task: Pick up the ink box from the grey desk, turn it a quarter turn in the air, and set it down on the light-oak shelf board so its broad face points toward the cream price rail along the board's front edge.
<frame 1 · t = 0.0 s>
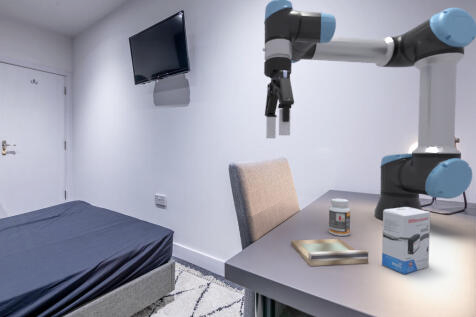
hand: (277, 137, 69), 28 cm above the table, fingers open, 13 cm apart
ink box: (405, 266, 52), on the table
pill bottle: (339, 234, 72), on the table
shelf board: (326, 252, 58), on the table
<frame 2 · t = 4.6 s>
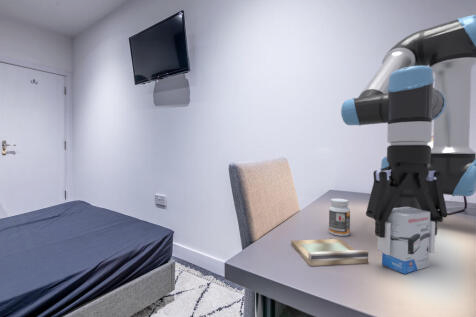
hand: (405, 251, 51), 3 cm above the table, fingers closed on ink box, 9 cm apart
ink box: (405, 266, 52), on the table, touching gripper
everything else where it was.
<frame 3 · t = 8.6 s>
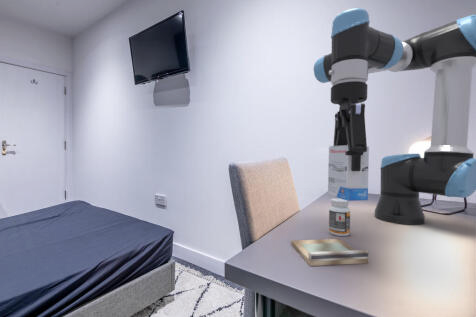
hand: (346, 183, 56), 17 cm above the table, fingers closed on ink box, 9 cm apart
ink box: (346, 198, 56), point 13 cm above the table, touching gripper
everything else where it was.
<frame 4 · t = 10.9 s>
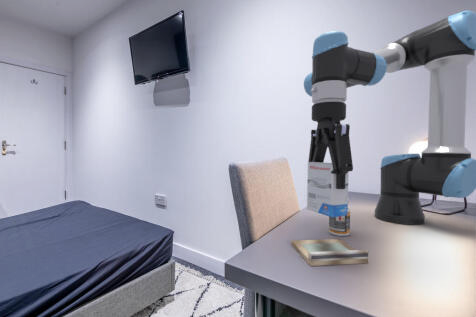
hand: (326, 199, 57), 13 cm above the table, fingers closed on ink box, 9 cm apart
ink box: (326, 213, 58), point 9 cm above the table, touching gripper
everything else where it was.
when the fingers open (6 cm above the table, at t = 12.8 s): ink box drops 1 cm, resting on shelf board.
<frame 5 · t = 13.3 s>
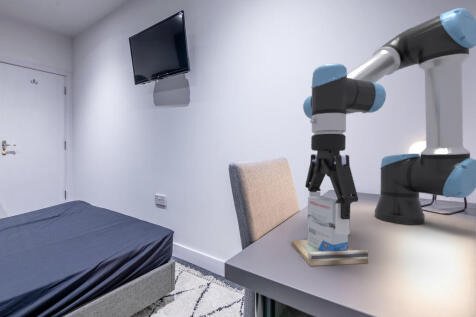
hand: (326, 224, 58), 7 cm above the table, fingers open, 13 cm apart
ink box: (326, 249, 58), point 1 cm above the table, touching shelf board
everything else where it was.
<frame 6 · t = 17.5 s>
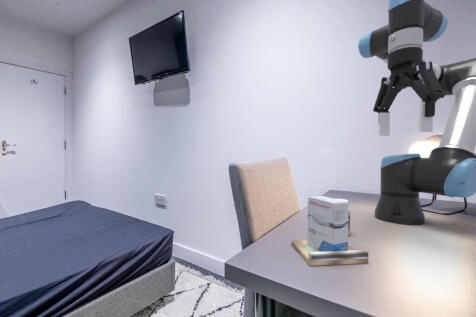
hand: (402, 134, 64), 29 cm above the table, fingers open, 13 cm apart
nothing on the table moved.
at the end: ink box inside the target area on the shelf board (0.8 cm from its centre), point 0.9 cm above the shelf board's base; ink box tilted 0°; the gripper is holding nothing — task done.
